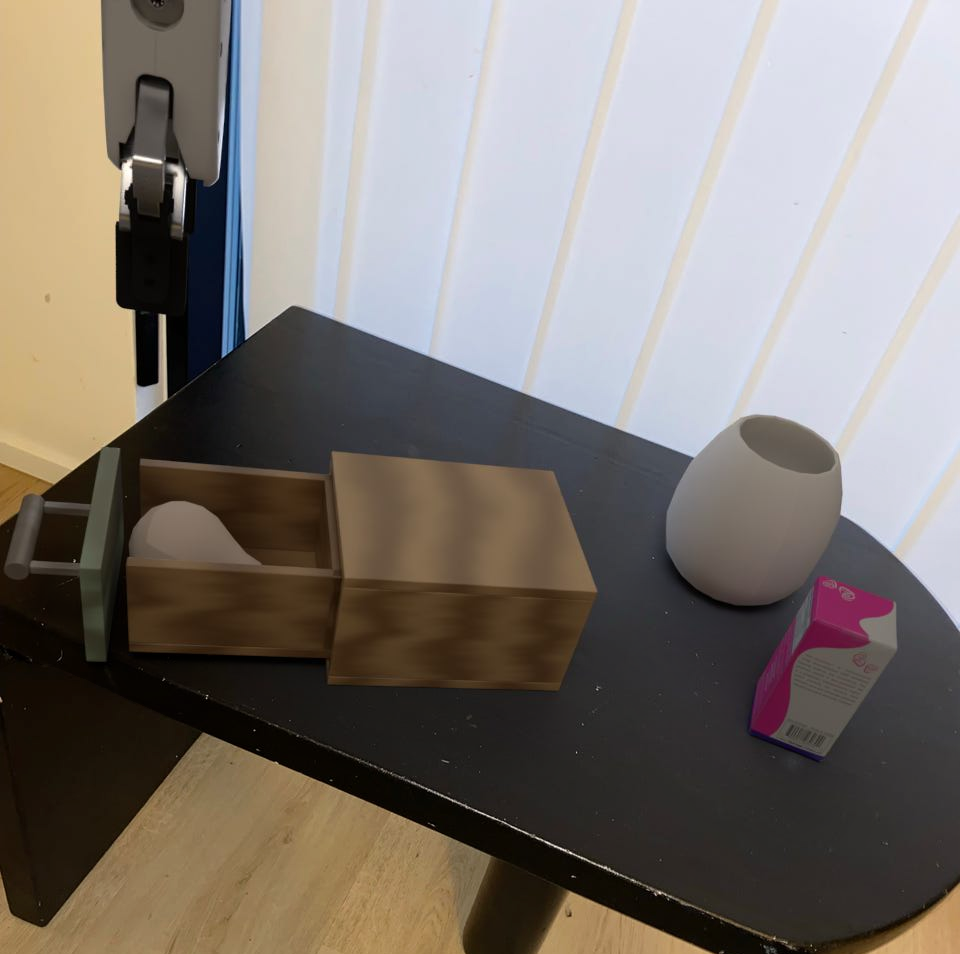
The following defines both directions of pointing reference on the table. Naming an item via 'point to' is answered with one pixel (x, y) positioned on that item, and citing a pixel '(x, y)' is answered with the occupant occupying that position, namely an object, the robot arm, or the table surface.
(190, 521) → the light bulb
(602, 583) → the table surface
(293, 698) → the table surface
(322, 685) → the table surface
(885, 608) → the supplement box
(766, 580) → the cup
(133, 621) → the drawer
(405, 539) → the cabinet
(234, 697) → the table surface
